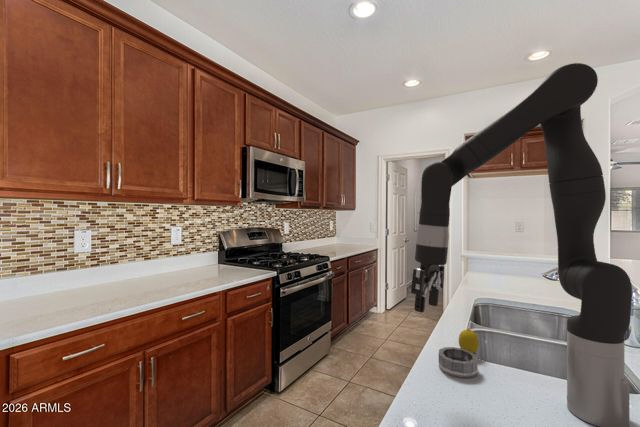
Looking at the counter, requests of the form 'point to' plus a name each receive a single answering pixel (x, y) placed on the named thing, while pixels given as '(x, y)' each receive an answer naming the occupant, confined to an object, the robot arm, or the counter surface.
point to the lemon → (468, 340)
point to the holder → (458, 362)
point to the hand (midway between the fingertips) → (426, 308)
